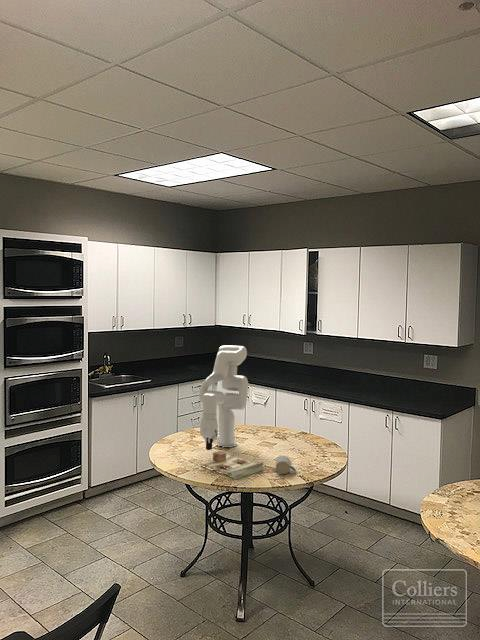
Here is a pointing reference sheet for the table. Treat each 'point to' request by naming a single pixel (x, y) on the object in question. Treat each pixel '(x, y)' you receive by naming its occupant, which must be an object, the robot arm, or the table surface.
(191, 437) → the table surface
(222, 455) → the walnut block
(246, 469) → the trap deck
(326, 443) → the table surface
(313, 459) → the table surface
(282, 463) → the ceramic mug
